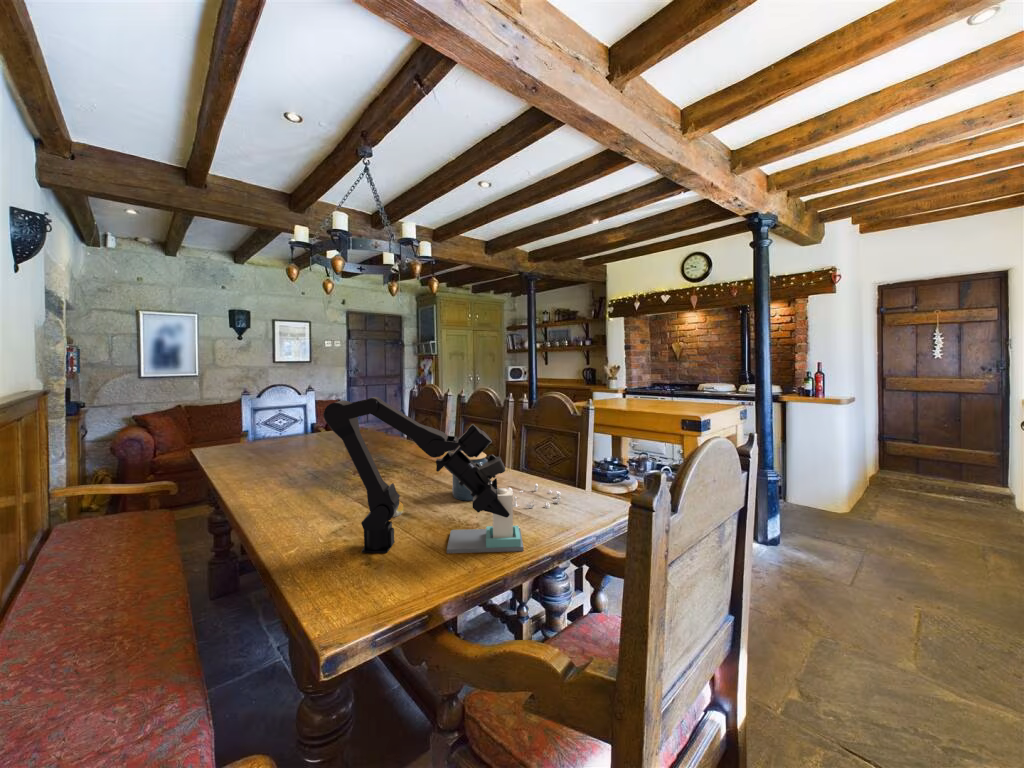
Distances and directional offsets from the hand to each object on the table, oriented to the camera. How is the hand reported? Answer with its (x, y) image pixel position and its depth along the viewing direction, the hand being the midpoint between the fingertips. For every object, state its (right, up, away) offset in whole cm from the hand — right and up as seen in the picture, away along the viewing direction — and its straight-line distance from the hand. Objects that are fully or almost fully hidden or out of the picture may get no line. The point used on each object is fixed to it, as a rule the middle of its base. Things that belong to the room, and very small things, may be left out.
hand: (507, 511), depth 110 cm
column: (-1, -8, 0) cm, 8 cm away
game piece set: (+8, -7, +35) cm, 37 cm away
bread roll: (-37, -8, +23) cm, 44 cm away
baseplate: (-6, -9, +2) cm, 10 cm away
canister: (-13, -7, +40) cm, 43 cm away
